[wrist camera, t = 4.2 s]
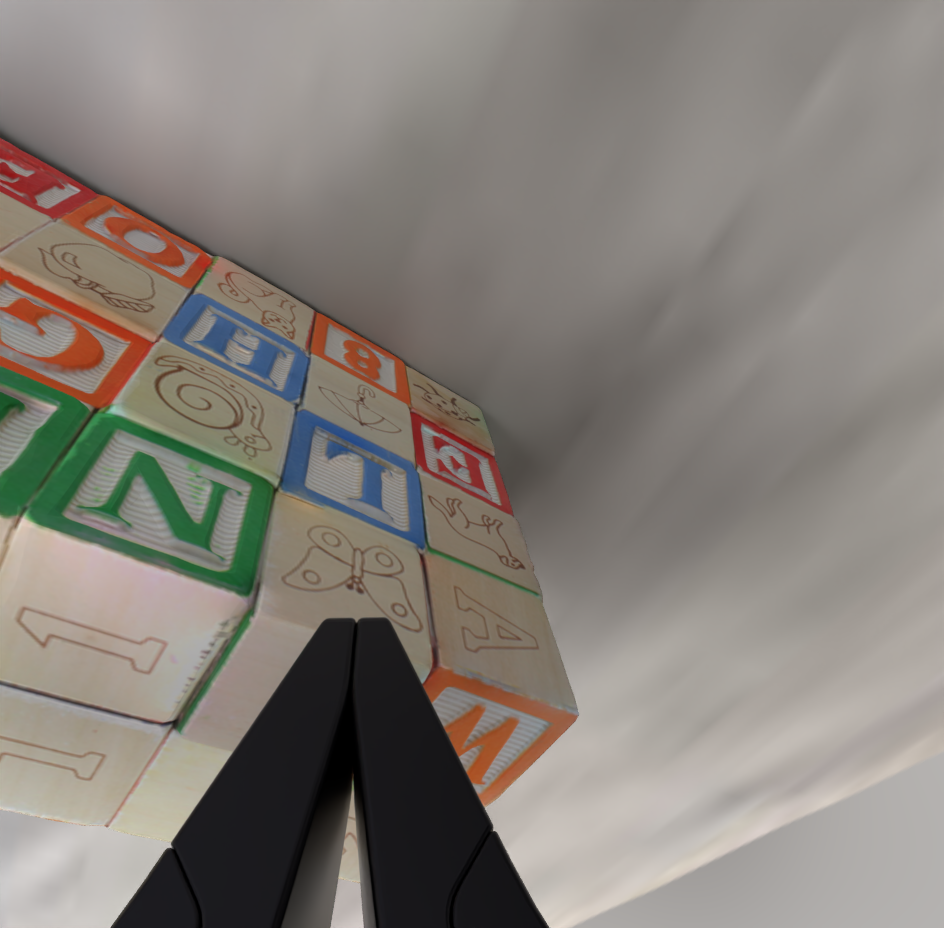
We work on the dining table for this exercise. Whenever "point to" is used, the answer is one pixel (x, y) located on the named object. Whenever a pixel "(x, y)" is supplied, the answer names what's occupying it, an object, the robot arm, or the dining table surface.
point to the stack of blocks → (226, 521)
